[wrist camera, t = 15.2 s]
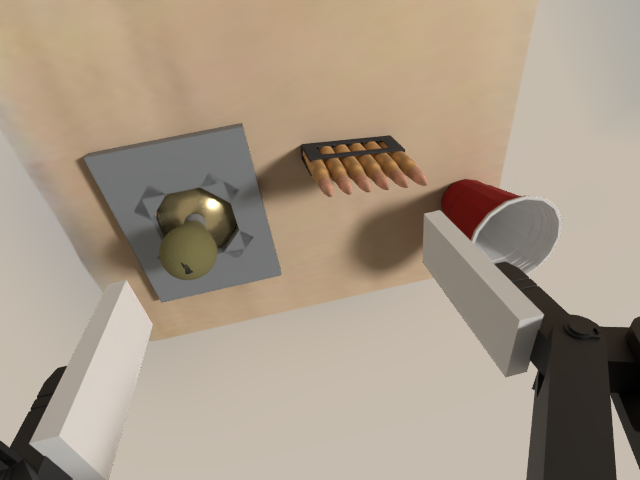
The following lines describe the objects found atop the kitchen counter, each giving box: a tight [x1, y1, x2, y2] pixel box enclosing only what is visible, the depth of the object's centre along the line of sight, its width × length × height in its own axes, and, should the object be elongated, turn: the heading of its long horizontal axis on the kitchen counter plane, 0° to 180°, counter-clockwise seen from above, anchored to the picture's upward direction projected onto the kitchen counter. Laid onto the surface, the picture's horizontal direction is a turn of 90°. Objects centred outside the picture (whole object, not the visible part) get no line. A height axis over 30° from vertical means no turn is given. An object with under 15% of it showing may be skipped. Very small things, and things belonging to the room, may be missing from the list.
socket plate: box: [83, 123, 281, 303], centre depth 42 cm, size 20×16×2 cm
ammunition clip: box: [301, 136, 427, 197], centre depth 36 cm, size 11×2×12 cm, turn 92°
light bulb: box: [159, 214, 217, 280], centre depth 38 cm, size 6×6×10 cm
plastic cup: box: [442, 179, 562, 275], centre depth 43 cm, size 11×11×12 cm
